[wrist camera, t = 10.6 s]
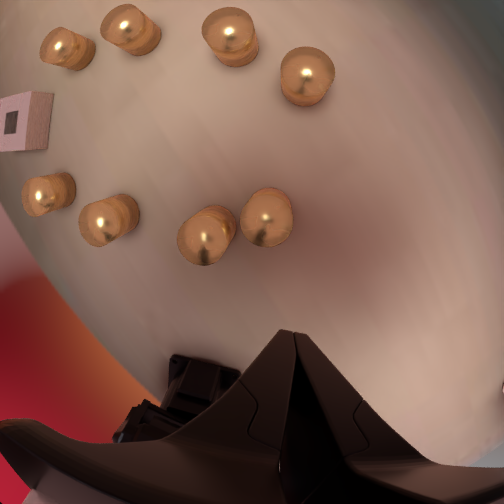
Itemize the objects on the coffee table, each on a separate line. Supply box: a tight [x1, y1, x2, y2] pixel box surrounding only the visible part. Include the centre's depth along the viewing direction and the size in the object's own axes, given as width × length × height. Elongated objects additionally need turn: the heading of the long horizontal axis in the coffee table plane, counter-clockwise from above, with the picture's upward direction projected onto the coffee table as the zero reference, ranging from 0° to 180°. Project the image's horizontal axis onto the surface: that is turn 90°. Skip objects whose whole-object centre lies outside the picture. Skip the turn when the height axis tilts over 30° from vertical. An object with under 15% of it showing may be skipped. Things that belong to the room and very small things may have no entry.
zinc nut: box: [0, 91, 54, 152], centre depth 19 cm, size 5×5×3 cm
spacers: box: [22, 4, 335, 266], centre depth 18 cm, size 17×22×4 cm
